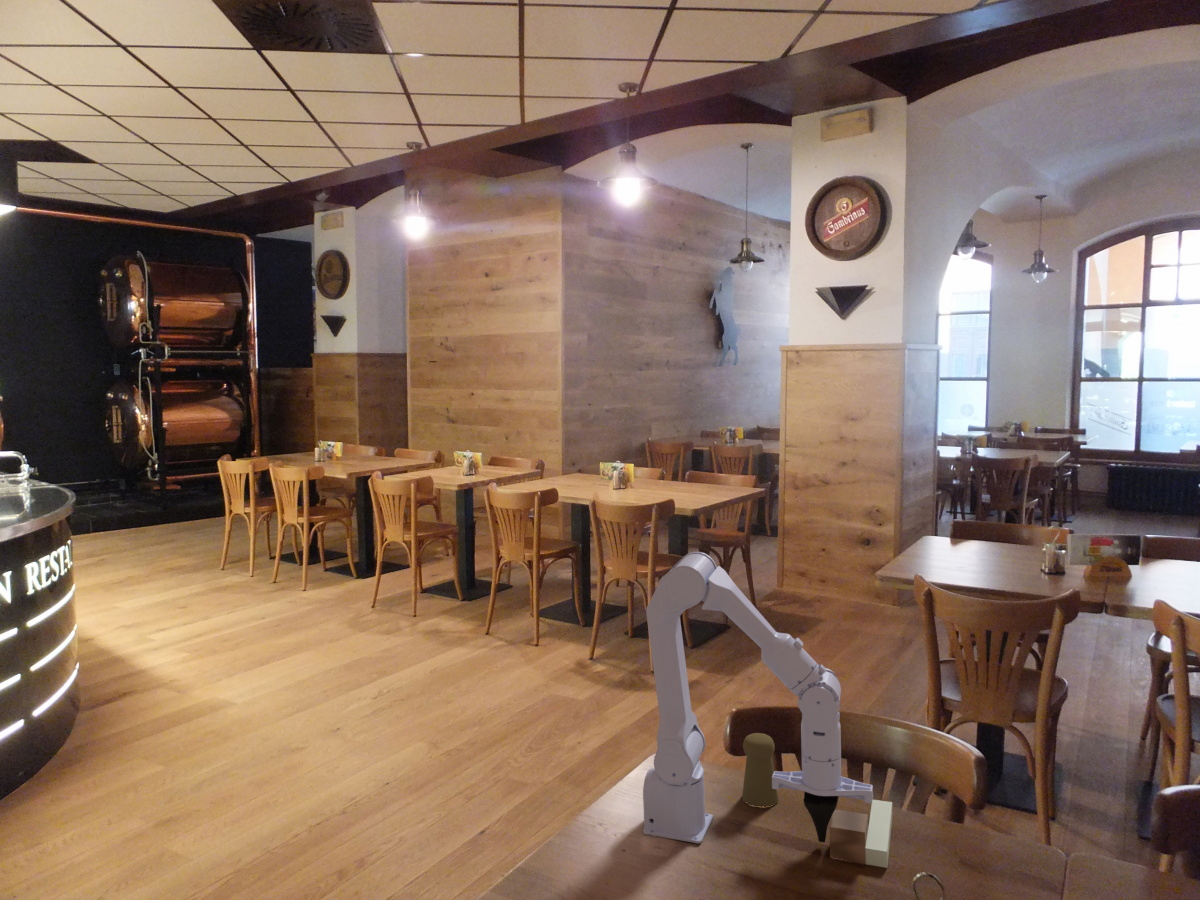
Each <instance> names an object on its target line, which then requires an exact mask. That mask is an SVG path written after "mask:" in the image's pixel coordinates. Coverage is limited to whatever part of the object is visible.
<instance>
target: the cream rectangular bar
mask: <svg viewBox="0 0 1200 900" xmlns="http://www.w3.org/2000/svg"><path fill="white" fill-rule="evenodd" d="M870 806H871V807H870V813H869V814H870V815H869V819H868V834H867V840H866V847H865V856H866V864H865V865H868V866H874V867H879V868H885V869H888V867H889V866H888V864H889V855H890V844H891V834H892V825H893V802H892V801H885V800H879V799H873V800H872V803H871V805H870Z"/></svg>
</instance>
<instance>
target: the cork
mask: <svg viewBox="0 0 1200 900" xmlns="http://www.w3.org/2000/svg"><path fill="white" fill-rule="evenodd" d="M775 747H776V745H775V742H774V740H773V738H772V737H771V736H770V735H767V733H761V732H753V733H750V734H747V735H746V736H745V737H744V739H743V744H742V748H743V753H744V755H746V759H745V760H746V761H745V768H744V775H743V787H742V794H741V796H742V797H743V799H742V801H743V800H744V801H745V802H747V803H748V804H750V805H754V806H761V807H762V806H764V807H766V806H771V805H774V804H776V803H777V801H778V802H779V800H778V799H779V794H778V793H779V792H778V789H772V775H773V773H774V771H775V770H774V768H775V767H774V764H773V759H772V758H773V756H774V754H775V751H776V749H775ZM744 801H743V802H744ZM777 804H778V803H777ZM777 804H776V805H777Z"/></svg>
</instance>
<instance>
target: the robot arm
mask: <svg viewBox="0 0 1200 900" xmlns="http://www.w3.org/2000/svg"><path fill="white" fill-rule="evenodd" d="M700 602H704V603H703V604H702V606H701V608H700V609H701V610H703V611H717V612H723V614H724V615H726V616H727V617H728V619H730V620H731V621H732V622H733V623H734V624H735V625H736V626H737V627H738V628H739V629H740V630H742V632H743V633H745V635H747V636H748V638H750V639H751V640H752V641H753V642H754V643H755V644H756V645H757V646H758V647H760V650H761V651H760V652H761V658H760V659H761V662H763V664H764V665H765V666H766V667H767V668H768V669H769V670H770V671H771V672H772V673H773V674H774V676H776V677H777V679H779V680H780V681H781V684H783V685H784V686H785V687H786V688H787V689H788V690H789V691H790V693H792V694H794V695H795V696H796V697H798V699H797V706H798V709H799V710H800V712H801V717H802V719H801V722H800V739H801V741H800V742H801V745H800V749H801V750H800V751H801V770H800V771H779V770H778V771H777V770H774V773H773V775H772V789H777V790H780V789H785V790H786V789H787V790H792V791H793V790H794V791H800V792H803V793H804V796H803V804H804V807H805V808H806V810H807V811H808V814H809V815H810V817H811V819H812V820H811V821H812V822H813V824H814V827H815V831H816V835H817V840H818V843H819V842H820V843H826V839H827V831H828V827H829V824H830V822H831V818H832V814H833V813H834V811H835V809H836V808H837V805H838V802H839V798H840V797H841V798H847V799H848V798H849V799H856V800H860V801H861V800H862V801H863V802H864V803H865V804H872V800H874V785H873V784H869V783H864V782H860V781H858V780H854V779H852V778H848V777H844V776H842V741H841V740H842V738H841V735H842V733H841V726H842V725H841V722H840V718H841V714H840V707H841V704H840V700H841V694H842V687H841V686H842V685H841V682H840V680H839V678H838V676H837V675H836V674H835V673H836V672H834V671H833V670H831V669H829V668H826V667H825V666H824V665H823V664H820V665H819V664H818V663H817V662H816V660H814V659H813V657H812V656H811V655H810V654H809V653H808V652H807V651H806V650H805V649H804V648H803V647H804V642H803V641H802V640H801V638H799V637H796V638H793V636H792V635H791V634H789V633H784V632H777V630H776V629H774V627H773V626H772V625H771V623H769V622H768V620H767V619H766V618H765V617H764V616H763V615H762V613H761V612H760V611H759V610H758V609H757V608H756V606H755V605H754V604H753V603H752V602H751V601H750V600H749V599H748V597H746V595H745V594H744V593H743V591H741V589H740V588H739V587H738V586H737V585H736V583H735V582H734V581H733V580H732V577H730V576H729V574H728V572H727V571H726V570H725V569H724V568H723V567H721V566H720V565H718V566H717V564H716V562H715V560H714V559H713V558H712V557H711V556H710V555H709V554H707V553H705V552H702V551H693V552H692V551H691V552H690V553H689V552H688V553H687V554H686V555H683V557H682V558H681V559H679V561H677V562H676V563H675V564H674V565H673V566H672V567H671V568H670V570H669V571H668V572H667V573H666V574H665V575H663V576H662V577H661V578H660V579H659V581H658V584H657V586H656V589H655V591H654V592H653V594H652V596H651V599H650V600H649V602H648V605H647V606H646V615H645V616H646V623H647V628H648V637H649V644H650V645H649V646H650V651H651V652H650V653H651V661H652V667H653V676H654V684H655V691H656V698H657V708H658V715H659V722H658V723H659V724H658V728H657V735H656V746H657V748H656V753H655V755H654V759H653V767H654V768H651V767H650V768H649V769H648V770H647V772H646V774H645V777H644V782H643V789H642V790H643V791H642V800H643V801H642V802H643V822H644V824H643V825H644V828H643V830H642V832H643V834H644V835H647V836H655V837H659V838H665V839H669V840H670V839H672V840H675V841H676V840H677V841H683V842H688V843H695V844H701V843H703V840H704V838H705V836H706V834H707V832H708V830H709V828H710V826H711V824H712V823H711V822H712V821H713V819H714V815H713V814H711V813H706V802H705V799H706V798H705V797H706V796H705V776H704V775H705V773H704V772H705V770H704V768H703V765H702V763H701V761H700V757H701V756H702V754H703V753H704V751H705V748H706V738H705V735H704V732H703V731H702V729H701V728H700V726H699V724H698V719H697V715H696V714H695V713H694V712H693V710H692V705H691V703H692V702H691V695H690V686H689V680H688V678H689V677H688V669H687V664H686V663H687V662H686V655H685V654H686V653H685V648H684V647H685V646H684V640H683V631H682V625H681V623H682V622H681V616H682V615H683V613H684V612H685V611H687V610H689V609H691V608H692V607H694V606H696V605H698V604H699V603H700ZM836 810H837V809H836Z"/></svg>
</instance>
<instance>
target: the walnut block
mask: <svg viewBox="0 0 1200 900" xmlns="http://www.w3.org/2000/svg"><path fill="white" fill-rule="evenodd" d="M828 827H829V858H830V857H833V858H839V859H843V860H847V861H851V862H850V863H853V862H856V864H859V863H860V864H859V865H864V864H865V863H866V856H865V847H866V840H867V834H868V827H869V814H868V813H863V812H862V813H861V812H854V811H847V810H841V809H835V811H834V813H833V814H832V816H831V818H830V821H829V825H828ZM847 861H846V862H847ZM865 865H866V864H865Z"/></svg>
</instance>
